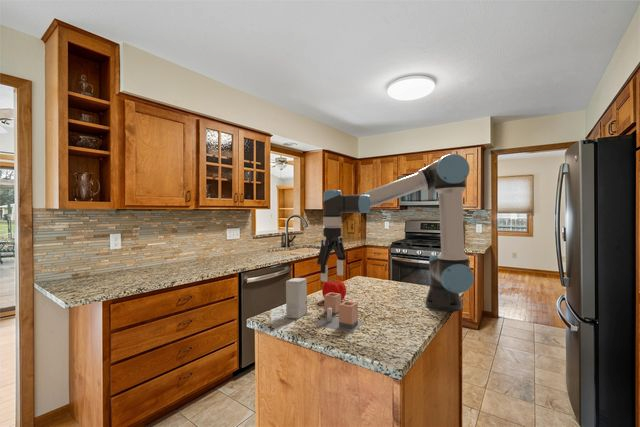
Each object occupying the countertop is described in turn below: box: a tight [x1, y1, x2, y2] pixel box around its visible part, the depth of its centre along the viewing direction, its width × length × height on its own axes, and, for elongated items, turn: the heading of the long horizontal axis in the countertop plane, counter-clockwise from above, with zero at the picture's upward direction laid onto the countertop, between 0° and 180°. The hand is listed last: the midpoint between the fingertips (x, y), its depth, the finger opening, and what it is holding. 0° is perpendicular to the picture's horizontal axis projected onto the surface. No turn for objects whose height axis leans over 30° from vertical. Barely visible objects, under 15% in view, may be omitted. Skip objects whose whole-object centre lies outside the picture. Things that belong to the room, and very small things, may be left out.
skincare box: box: [285, 277, 308, 320], centre depth 127 cm, size 8×6×15 cm
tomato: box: [321, 278, 347, 301], centre depth 146 cm, size 12×12×10 cm
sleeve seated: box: [338, 300, 359, 329], centre depth 114 cm, size 5×5×8 cm
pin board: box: [313, 308, 365, 334], centre depth 116 cm, size 16×11×6 cm
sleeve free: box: [323, 292, 342, 316], centre depth 128 cm, size 5×5×8 cm
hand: (332, 278), depth 129 cm, fingers open, 13 cm apart
